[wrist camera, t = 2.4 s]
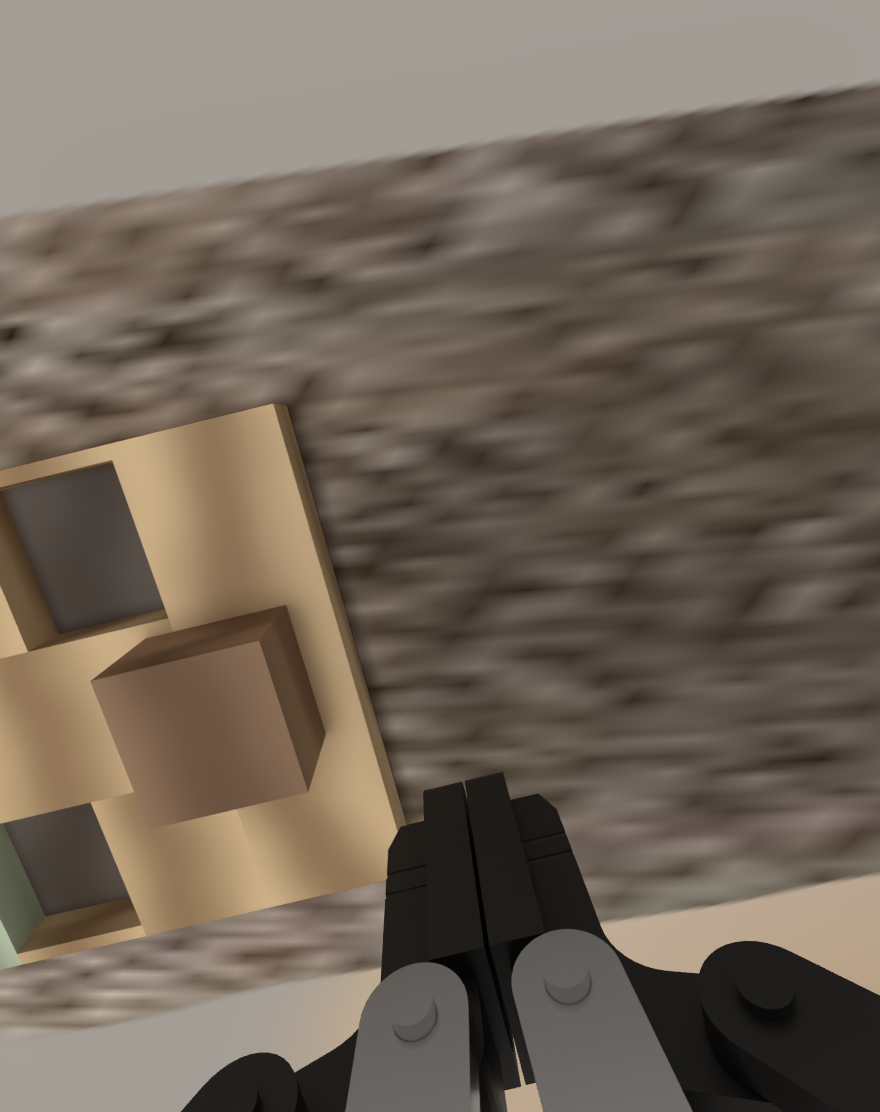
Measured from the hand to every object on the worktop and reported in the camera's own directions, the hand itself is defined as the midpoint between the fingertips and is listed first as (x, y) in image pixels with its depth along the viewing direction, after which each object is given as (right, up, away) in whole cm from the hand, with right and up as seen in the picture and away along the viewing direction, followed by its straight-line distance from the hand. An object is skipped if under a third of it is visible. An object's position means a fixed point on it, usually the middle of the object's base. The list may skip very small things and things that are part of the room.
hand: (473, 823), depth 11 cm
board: (-14, -1, +12) cm, 19 cm away
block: (-8, 0, +10) cm, 13 cm away
